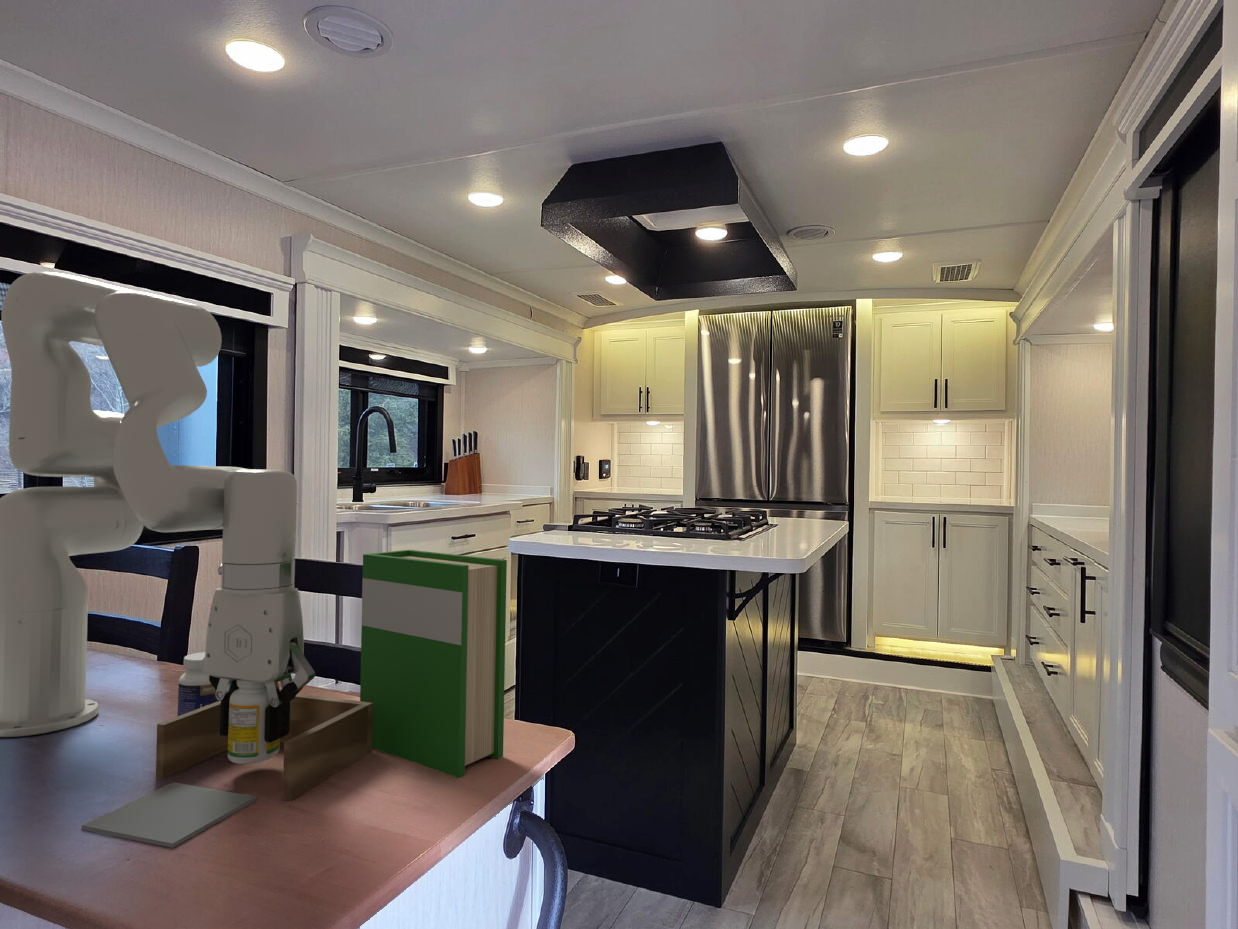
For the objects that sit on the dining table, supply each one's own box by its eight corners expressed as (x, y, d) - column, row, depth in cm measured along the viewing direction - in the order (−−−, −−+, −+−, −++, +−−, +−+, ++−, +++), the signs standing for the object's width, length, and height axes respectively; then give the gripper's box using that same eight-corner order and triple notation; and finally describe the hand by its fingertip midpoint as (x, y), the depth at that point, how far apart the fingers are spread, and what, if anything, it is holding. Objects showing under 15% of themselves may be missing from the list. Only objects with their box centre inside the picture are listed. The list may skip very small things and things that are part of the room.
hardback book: (503, 757, 88) (506, 560, 88) (458, 777, 82) (462, 566, 82) (405, 727, 97) (409, 549, 98) (359, 743, 91) (363, 554, 92)
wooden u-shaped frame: (155, 778, 80) (157, 724, 80) (251, 734, 94) (253, 688, 94) (290, 801, 75) (292, 743, 75) (371, 751, 89) (372, 702, 89)
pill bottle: (204, 741, 91) (206, 662, 91) (166, 737, 92) (167, 659, 92) (237, 725, 97) (238, 651, 97) (200, 722, 98) (202, 649, 98)
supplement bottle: (235, 769, 79) (237, 681, 79) (221, 754, 82) (223, 670, 83) (287, 756, 82) (288, 672, 82) (271, 743, 86) (272, 662, 86)
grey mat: (81, 829, 69) (81, 825, 69) (172, 786, 78) (172, 782, 78) (172, 848, 66) (172, 843, 66) (255, 800, 75) (256, 796, 75)
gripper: (170, 576, 81) (166, 737, 81) (299, 586, 77) (294, 757, 76) (223, 568, 88) (219, 716, 88) (343, 576, 84) (339, 732, 84)
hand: (254, 733), depth 82 cm, fingers closed on supplement bottle, 5 cm apart
